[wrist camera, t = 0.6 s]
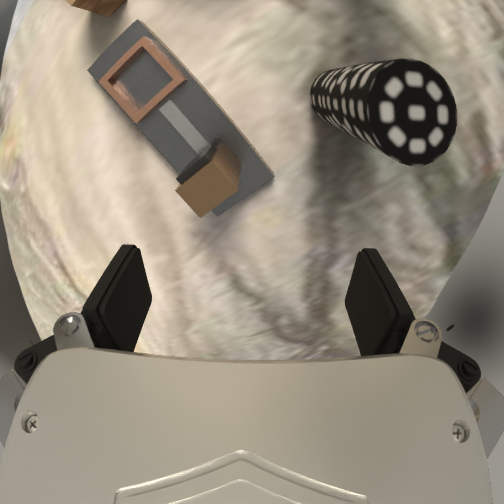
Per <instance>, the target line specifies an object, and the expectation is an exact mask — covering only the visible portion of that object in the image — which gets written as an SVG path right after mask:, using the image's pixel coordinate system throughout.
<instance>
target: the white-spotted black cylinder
mask: <svg viewBox="0 0 504 504" xmlns="http://www.w3.org/2000/svg"><path fill="white" fill-rule="evenodd" d="M310 100H311V104H312V107H313V109H314V111H315V112H316V114H317V115H318V116H319V117H320V118H321V119H322V120H324V121H325V122H327V123H329V124H331V125H333V126H335V127H337V128H339V129H341V130H343V131H345V132H347V133H348V134H350V135H352V136H354V137H356V138H358V139H360V140H361V141H363V142H365V143H367V144H369V145H370V146H372V147H374V148H376V149H377V150H379V151H381V152H382V153H384V154H386V155H387V156H389V157H391V158H392V159H394V160H396V161H398V162H399V163H402V164H405V165H409V166H421V165H426V164H429V163H431V162H434V161H435V160H437V159H438V158H439V157H441V156H442V155H443V154H444V153H445V152H446V150H447V149H448V147H449V146H450V144H451V142H452V140H453V137H454V135H455V131H456V126H457V109H456V104H455V100H454V96H453V94H452V92H451V89H450V87H449V86H448V84H447V82H446V81H445V79H444V78H443V77H442V76H441V75H440V74H439V73H438V72H437V71H436V70H435V69H434V68H432V67H431V66H430V65H428V64H426V63H424V62H422V61H418V60H414V59H396V60H387V61H379V62H372V63H366V64H359V65H354V66H348V67H343V68H338V69H333V70H329V71H326V72H324V73H322V74H321V75H319V76H318V77H317V78H316V80H315V81H314V82H313V85H312V87H311V91H310Z"/></svg>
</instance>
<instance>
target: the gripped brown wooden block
mask: <svg viewBox="0 0 504 504" xmlns="http://www.w3.org/2000/svg"><path fill="white" fill-rule="evenodd" d="M66 1H67V2H68V3H69V4H70V5H71V6H74V7H78V8H81V9H85V10H88V11H91V12H94V13H97V14H100V15H103V16H106V17H109V16H110V15H111V14H112V13H113V12H114V11H115V10H116V9H117V8H118V7H119V6H121V5H122V4H123V3H124V2H125V1H126V0H66Z"/></svg>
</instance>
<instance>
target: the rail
mask: <svg viewBox="0 0 504 504" xmlns="http://www.w3.org/2000/svg"><path fill="white" fill-rule="evenodd" d="M87 71H88V72H89V73H90V74H91V75H92V76H93V77H94V78H95V80H96V81H97V82H98V83H99V84H100V85H101V86H102V88H103V89H104V90H105V91H106V92H107V93H108V94H109V95H110V97H111V98H112V99H113V100H114V101H115V102H116V103H117V104H118V106H119V107H120V108H121V109H122V110H123V111H124V112H125V113H126V115H127V116H128V117H129V118H130V119H131V120H132V121H133V122H134V124H135V125H136V126H137V127H138V128H139V129H140V130H141V131H142V133H143V134H144V135H145V136H146V137H147V138H148V139H149V140H150V142H151V143H152V144H153V145H154V146H155V147H156V148H157V149H158V151H159V152H160V153H161V154H162V155H163V156H164V157H165V158H166V160H167V161H168V162H169V163H170V164H171V165H172V166H173V167H174V169H175V170H176V171H177V172H178V173H179V176H178V177H177V178H176V179H177V181H178V182H179V183H180V184H179V186H178V187H177V189H176V190H175V191H176V192H177V193H178V194H179V195H180V196H181V197H182V199H183V200H184V201H185V202H186V203H187V204H188V205H189V206H190V207H191V208H192V209H193V211H194V212H195V213H196V214H197V215H198V216H199V217H200V218H201V217H202V216H204V215H205V214H206V213H208V212H209V211H211V210H212V211H213V212H214V213H215V214H216V216H219V215H220V214H221V213H223V212H224V211H226V210H227V209H228V208H230V207H231V206H233V205H234V204H236V203H237V202H238V201H240V200H241V199H243V198H244V197H246V196H247V195H248V194H250V193H251V192H253V191H254V190H256V189H257V188H259V187H260V186H262V185H263V184H265V183H266V182H268V181H269V180H271V179H272V178H274V173H273V172H272V170H271V169H270V168H269V166H268V165H267V164H266V162H265V161H264V160H263V158H262V157H261V156H260V155H259V153H258V152H257V151H256V149H255V148H254V147H253V146H252V144H251V143H250V142H249V141H248V139H247V138H246V137H245V136H244V134H243V133H242V132H241V131H240V129H239V128H238V127H237V126H236V124H235V123H234V122H233V121H232V120H231V118H230V117H229V116H228V115H227V114H226V112H225V111H224V110H223V109H222V108H221V106H220V105H219V104H218V103H217V102H216V100H215V99H214V98H213V97H212V96H211V95H210V93H209V92H208V91H207V90H206V89H205V88H204V87H203V85H202V84H201V83H200V82H199V81H198V80H197V79H196V78H195V76H194V75H193V74H192V73H191V72H190V71H189V70H188V69H187V68H186V66H185V65H184V64H183V63H182V62H181V61H180V60H179V59H178V58H177V57H176V56H175V55H174V53H173V52H172V51H171V50H170V49H169V48H168V47H167V46H166V45H165V44H164V43H163V42H162V41H161V40H160V39H159V38H158V37H157V36H156V35H155V34H154V33H153V32H152V31H151V30H150V29H149V28H148V27H147V26H146V25H145V24H144V23H143V22H142V21H140V20H138V19H137V20H136V21H135V22H134V23H133V24H132V25H131V26H129V27H128V28H127V29H126V30H125V31H124V32H123V33H122V34H121V35H120V36H119V37H118V38H117V39H116V40H115V41H114V42H113V43H112V44H111V45H110V46H109V47H108V48H107V49H106V50H105V51H104V52H103V53H102V55H101V56H100V57H99V58H98V59H97V60H96V61H95V62H94V63H93V65H92V66H91V67H90V68H89V69H88V70H87Z"/></svg>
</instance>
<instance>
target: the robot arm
mask: <svg viewBox="0 0 504 504" xmlns="http://www.w3.org/2000/svg"><path fill="white" fill-rule="evenodd" d="M151 302H152V294H151V291H150V287H149V283H148V279H147V276H146V272H145V268H144V264H143V259H142V255H141V251H140V249H139V248H137V247H136V245H122V246H121V247H120V249H119V250H118V252H117V253H116V255H115V256H114V258H113V259H112V261H111V262H110V264H109V265H108V267H107V268H106V270H105V271H104V273H103V275H102V276H101V278H100V279H99V281H98V282H97V284H96V286H95V287H94V289H93V291H92V292H91V294H90V296H89V297H88V299H87V301H86V302H85V304H84V306H83V310H82V311H81V313H77V312H70V313H66V314H64V315H63V316H61V317H60V318H59V319H58V320H57V321H56V323H55V325H54V328H53V332H54V335H52V336H50V337H48V338H46V339H44V340H43V341H41V342H39V343H37V344H35V345H33V346H31V347H29V348H28V349H26V350H24V351H23V352H21V353H20V354H19V356H18V357H17V359H16V361H15V369H14V370H13V371H12V369H10V370H9V371H8V372H7V373H6V374H4V375H3V376H2V377H1V378H0V441H1V443H2V444H3V446H4V448H5V449H4V453H3V457H2V462H1V468H0V504H493V498H492V490H491V482H490V476H489V469H488V464H487V458H488V457H489V455H490V454H491V452H492V450H493V449H494V447H495V445H496V444H497V442H498V440H499V438H500V437H501V435H502V433H503V431H504V396H503V395H502V394H501V393H500V392H499V391H498V390H497V389H496V388H495V387H494V386H493V385H492V384H491V383H490V382H489V381H488V380H487V379H486V378H485V377H484V378H483V379H482V378H481V371H480V368H479V366H478V364H477V363H476V361H475V360H473V359H472V358H470V357H469V356H466V355H465V354H463V353H461V352H460V351H458V350H456V349H454V348H453V347H451V346H449V345H447V344H446V343H444V342H442V332H441V330H440V328H439V326H438V325H437V324H435V323H434V322H433V321H431V320H429V319H426V318H418V319H415V317H414V315H413V312H412V310H411V308H410V306H409V304H408V302H407V301H406V299H405V297H404V295H403V293H402V292H401V290H400V288H399V286H398V284H397V283H396V281H395V279H394V278H393V276H392V274H391V272H390V271H389V269H388V267H387V266H386V264H385V262H384V261H383V259H382V257H381V256H380V254H379V253H378V251H377V250H376V249H373V248H363V249H362V251H361V252H358V254H357V258H356V262H355V266H354V269H353V273H352V277H351V280H350V284H349V287H348V291H347V294H346V297H345V306H346V309H347V312H348V315H349V319H350V322H351V325H352V328H353V331H354V334H355V337H356V341H357V344H358V347H359V350H360V354H361V356H358V357H344V358H330V359H310V360H222V359H202V358H187V357H175V356H164V355H154V354H145V353H136V352H134V349H135V346H136V343H137V340H138V338H139V335H140V332H141V329H142V326H143V324H144V321H145V318H146V316H147V313H148V310H149V308H150V305H151Z"/></svg>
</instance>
